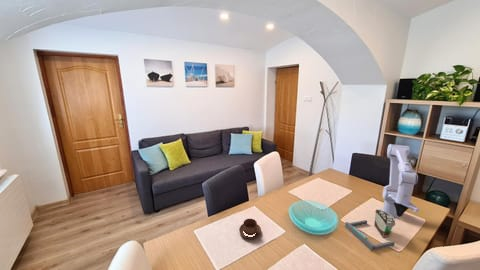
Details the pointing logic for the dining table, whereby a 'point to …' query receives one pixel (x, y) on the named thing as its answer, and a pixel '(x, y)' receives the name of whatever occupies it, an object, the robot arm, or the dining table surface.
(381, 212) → the food container
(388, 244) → the grey piece
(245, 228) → the cup and saucer
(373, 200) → the dining table surface
